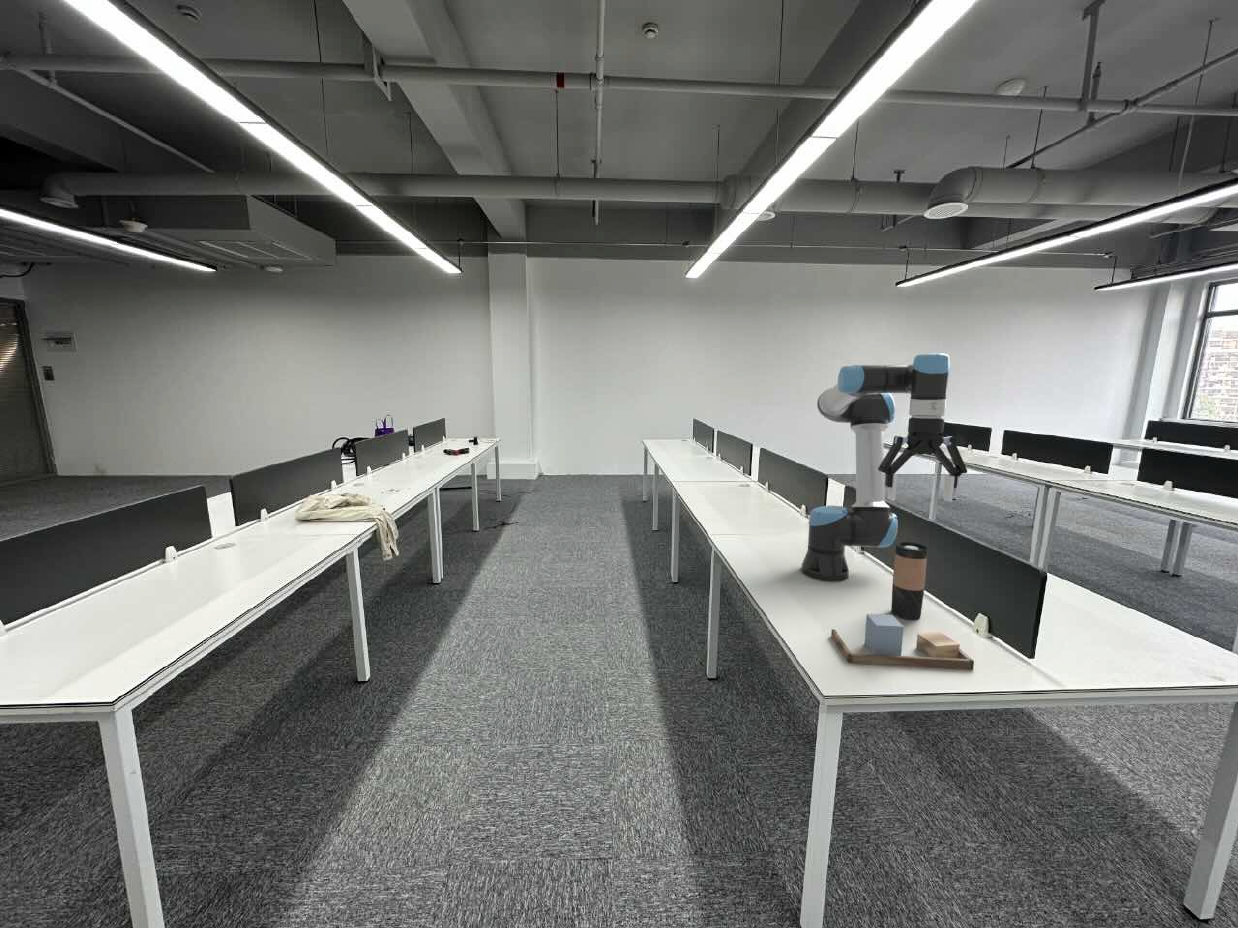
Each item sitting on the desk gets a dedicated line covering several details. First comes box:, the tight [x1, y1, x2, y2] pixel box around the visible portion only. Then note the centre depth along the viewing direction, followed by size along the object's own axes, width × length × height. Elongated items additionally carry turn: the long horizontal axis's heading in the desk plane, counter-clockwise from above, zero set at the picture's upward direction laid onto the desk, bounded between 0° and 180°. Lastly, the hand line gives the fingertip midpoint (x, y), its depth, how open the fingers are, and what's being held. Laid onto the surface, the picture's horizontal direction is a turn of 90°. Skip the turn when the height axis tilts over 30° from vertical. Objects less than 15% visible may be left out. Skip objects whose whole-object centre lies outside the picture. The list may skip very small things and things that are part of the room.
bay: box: [830, 629, 975, 670], centre depth 117 cm, size 12×27×2 cm, turn 84°
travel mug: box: [890, 541, 928, 621], centre depth 135 cm, size 8×8×20 cm
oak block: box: [915, 631, 961, 659], centre depth 116 cm, size 6×6×4 cm
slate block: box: [863, 613, 905, 656], centre depth 117 cm, size 6×6×8 cm
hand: (919, 500), depth 124 cm, fingers open, 13 cm apart
